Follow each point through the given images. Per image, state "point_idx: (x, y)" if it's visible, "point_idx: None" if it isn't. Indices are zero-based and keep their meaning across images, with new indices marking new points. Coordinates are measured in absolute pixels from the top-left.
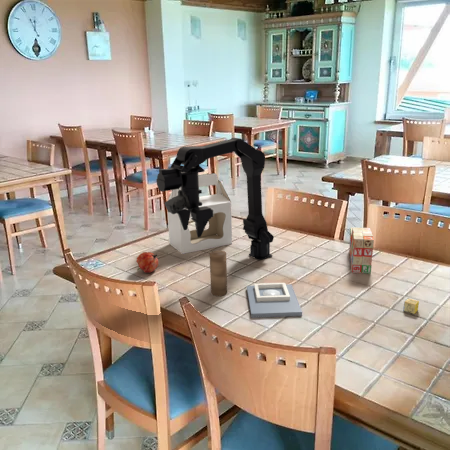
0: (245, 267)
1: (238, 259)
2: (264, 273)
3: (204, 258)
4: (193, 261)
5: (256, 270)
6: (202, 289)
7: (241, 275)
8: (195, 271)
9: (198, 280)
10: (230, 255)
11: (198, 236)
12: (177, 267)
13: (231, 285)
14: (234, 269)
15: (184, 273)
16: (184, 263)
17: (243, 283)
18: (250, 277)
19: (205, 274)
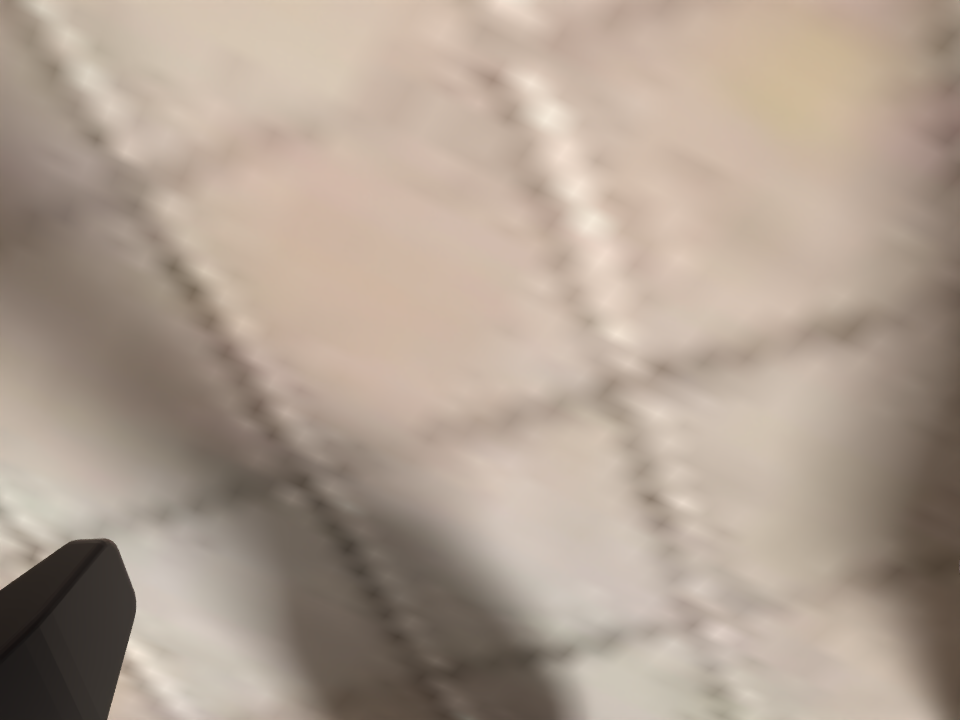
0: (390, 641)
1: (600, 678)
2: (188, 687)
3: (866, 464)
4: (888, 331)
5: (279, 673)
6: (25, 40)
7: (231, 540)
8: (591, 215)
9: (311, 122)
10: (737, 672)
11: (59, 563)
12: (875, 67)
13: (31, 365)
14: (400, 556)
15: (621, 62)
16: (921, 211)
17: (41, 473)
18: (153, 576)
19: (438, 274)
